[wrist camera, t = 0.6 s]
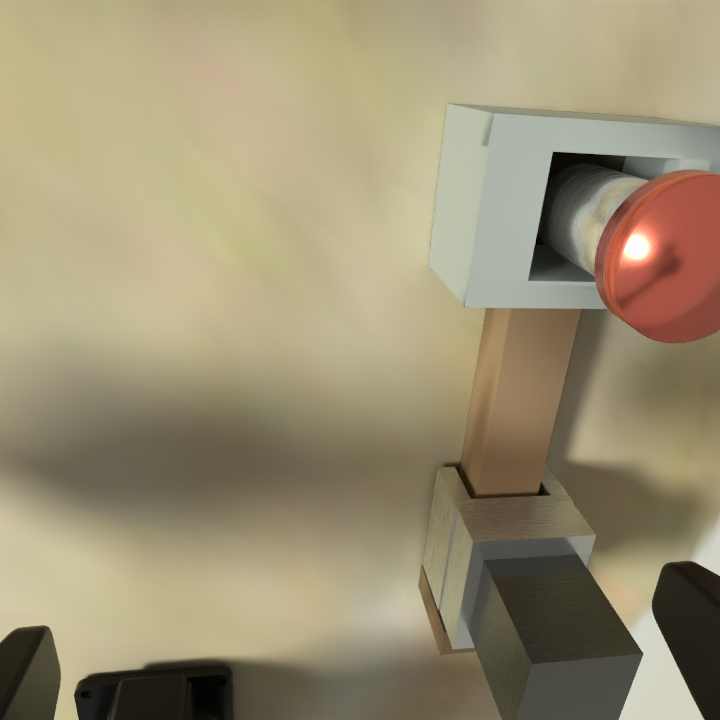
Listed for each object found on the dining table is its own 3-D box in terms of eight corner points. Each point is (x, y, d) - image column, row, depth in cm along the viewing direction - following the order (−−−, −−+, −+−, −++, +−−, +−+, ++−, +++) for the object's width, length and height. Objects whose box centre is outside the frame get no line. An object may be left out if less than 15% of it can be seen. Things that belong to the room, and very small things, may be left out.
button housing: (619, 269, 22) (691, 309, 18) (428, 265, 20) (465, 307, 17) (658, 117, 20) (748, 130, 16) (447, 103, 18) (494, 113, 15)
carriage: (522, 558, 27) (624, 745, 19) (423, 564, 26) (489, 761, 19) (545, 463, 25) (668, 632, 17) (437, 467, 24) (518, 645, 17)
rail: (513, 579, 28) (546, 645, 25) (418, 586, 27) (440, 654, 24) (585, 268, 21) (641, 303, 18) (465, 266, 21) (502, 301, 18)
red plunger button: (619, 271, 19) (745, 342, 14) (508, 269, 18) (600, 343, 13) (651, 148, 17) (804, 181, 12) (531, 141, 17) (643, 172, 12)
